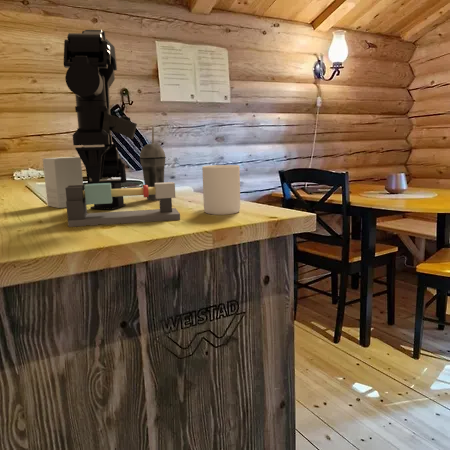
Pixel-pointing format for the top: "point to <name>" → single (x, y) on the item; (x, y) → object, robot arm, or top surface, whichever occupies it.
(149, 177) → the beverage cup
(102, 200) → the sleeve
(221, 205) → the mug
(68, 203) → the grey peg fixture
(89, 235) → the top surface
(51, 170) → the supplement box
